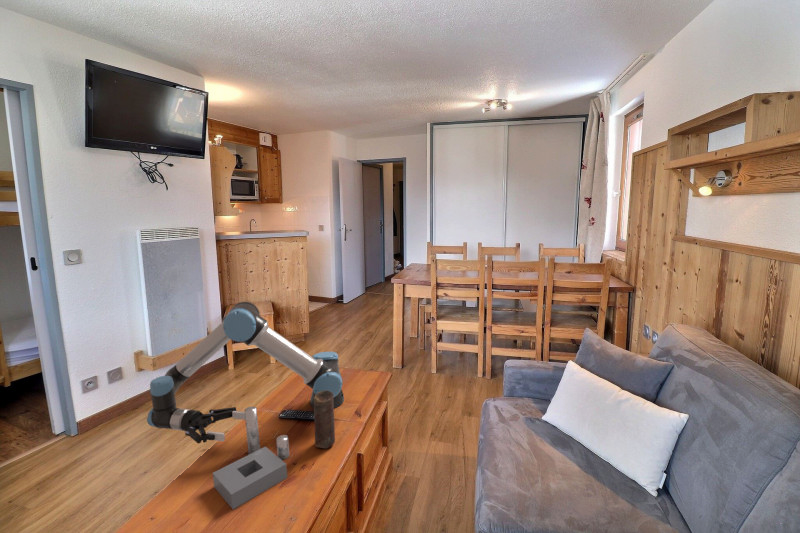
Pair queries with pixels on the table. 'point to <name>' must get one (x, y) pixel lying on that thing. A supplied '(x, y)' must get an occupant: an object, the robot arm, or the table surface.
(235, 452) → the table surface
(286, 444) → the short pin
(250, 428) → the long pin
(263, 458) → the guide block
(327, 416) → the brown textured cylinder
